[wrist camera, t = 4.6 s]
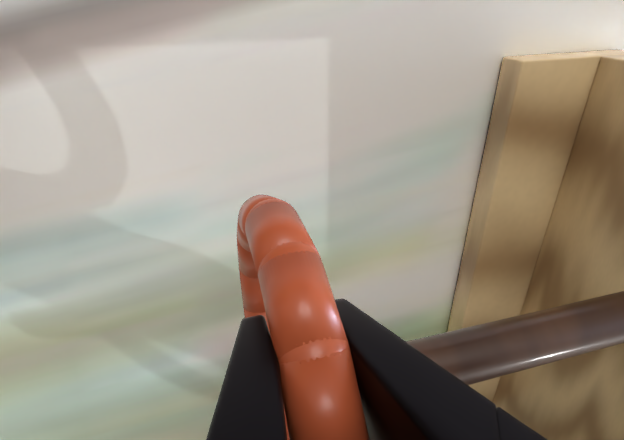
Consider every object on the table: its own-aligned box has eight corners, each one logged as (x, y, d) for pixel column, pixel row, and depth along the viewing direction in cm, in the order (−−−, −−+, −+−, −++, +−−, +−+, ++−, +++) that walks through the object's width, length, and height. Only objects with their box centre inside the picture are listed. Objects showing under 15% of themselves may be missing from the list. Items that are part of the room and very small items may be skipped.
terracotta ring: (279, 364, 17) (372, 702, 9) (249, 371, 17) (318, 725, 9) (265, 140, 12) (434, 432, 4) (223, 144, 12) (322, 463, 4)
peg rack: (507, 381, 30) (657, 561, 20) (271, 446, 26) (325, 705, 16) (617, 49, 19) (1045, 113, 9) (235, 72, 15) (336, 223, 6)
